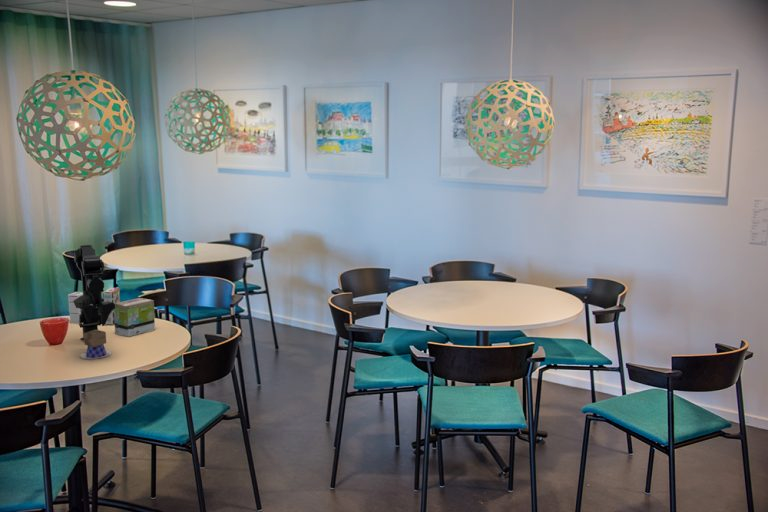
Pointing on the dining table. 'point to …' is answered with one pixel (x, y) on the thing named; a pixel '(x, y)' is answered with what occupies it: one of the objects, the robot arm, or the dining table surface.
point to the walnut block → (94, 338)
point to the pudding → (96, 352)
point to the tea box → (134, 317)
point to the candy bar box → (111, 296)
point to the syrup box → (74, 307)
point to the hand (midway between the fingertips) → (96, 323)
